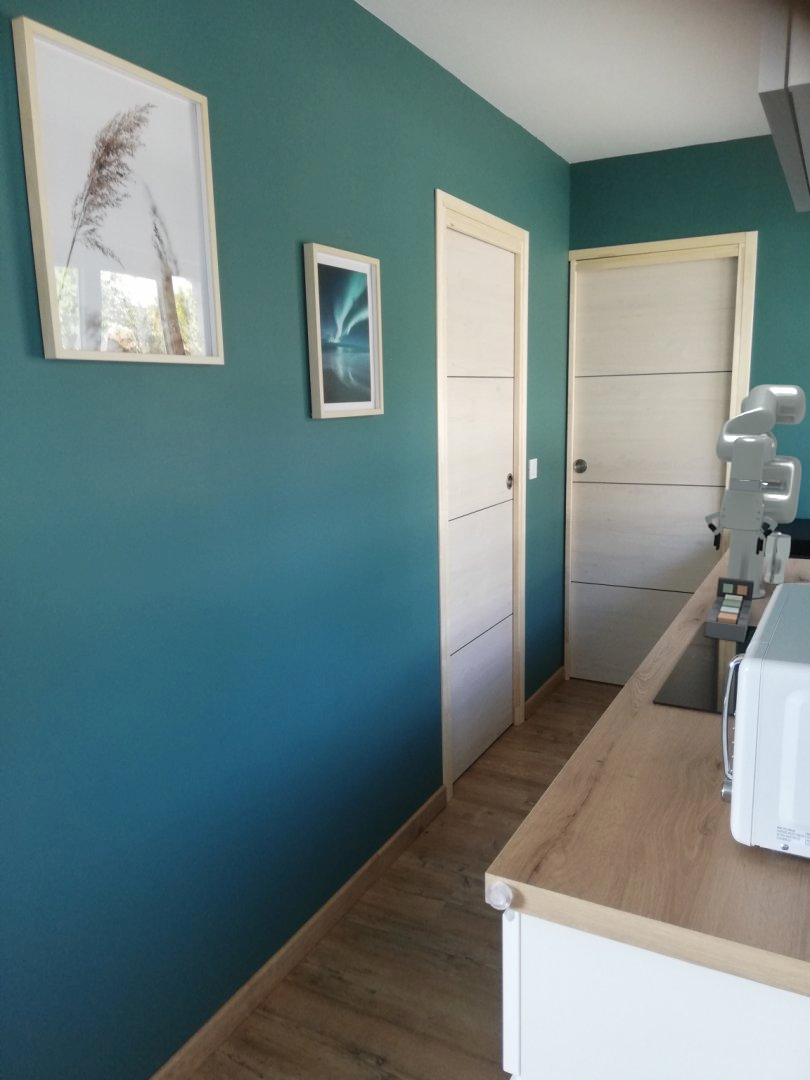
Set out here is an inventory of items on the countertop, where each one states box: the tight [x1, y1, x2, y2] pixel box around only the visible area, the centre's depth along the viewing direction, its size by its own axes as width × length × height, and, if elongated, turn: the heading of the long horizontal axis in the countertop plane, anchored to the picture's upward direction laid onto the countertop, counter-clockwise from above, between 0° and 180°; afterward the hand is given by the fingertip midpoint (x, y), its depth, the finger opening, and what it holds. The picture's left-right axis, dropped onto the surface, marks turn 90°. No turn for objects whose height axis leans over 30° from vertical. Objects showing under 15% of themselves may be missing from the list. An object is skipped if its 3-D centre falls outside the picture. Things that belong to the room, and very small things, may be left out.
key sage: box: [722, 600, 741, 611], centre depth 211 cm, size 4×4×2 cm
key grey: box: [720, 606, 739, 618], centre depth 206 cm, size 4×4×2 cm
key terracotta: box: [717, 613, 737, 624], centre depth 200 cm, size 4×4×2 cm
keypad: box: [704, 576, 754, 643], centre depth 209 cm, size 27×9×9 cm, turn 154°
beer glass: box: [762, 533, 792, 586], centre depth 250 cm, size 7×7×15 cm
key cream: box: [724, 594, 743, 604], centre depth 217 cm, size 4×4×2 cm
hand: (737, 551), depth 208 cm, fingers open, 9 cm apart
